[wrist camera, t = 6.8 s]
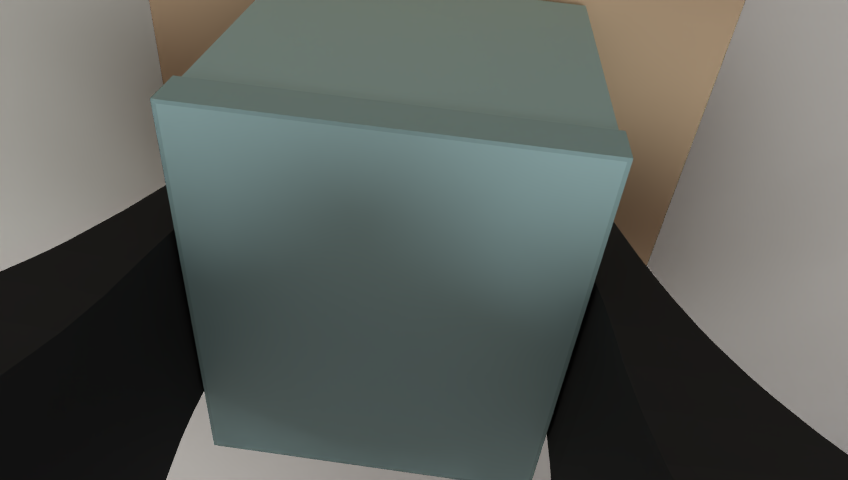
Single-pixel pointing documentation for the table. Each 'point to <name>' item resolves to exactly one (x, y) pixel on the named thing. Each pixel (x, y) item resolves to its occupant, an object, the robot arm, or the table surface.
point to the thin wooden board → (622, 66)
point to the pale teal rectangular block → (392, 225)
